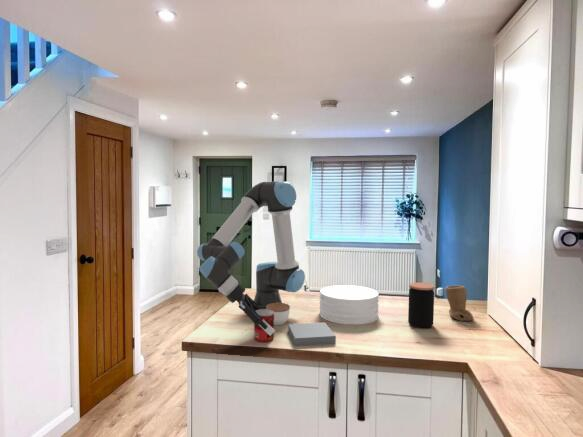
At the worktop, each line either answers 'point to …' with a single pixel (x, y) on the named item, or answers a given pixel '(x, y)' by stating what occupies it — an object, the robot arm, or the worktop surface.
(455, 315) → the brown boot
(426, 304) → the coffee jar
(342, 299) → the plate stack
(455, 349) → the worktop surface
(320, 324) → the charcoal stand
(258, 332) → the canned food
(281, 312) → the lidded jar
